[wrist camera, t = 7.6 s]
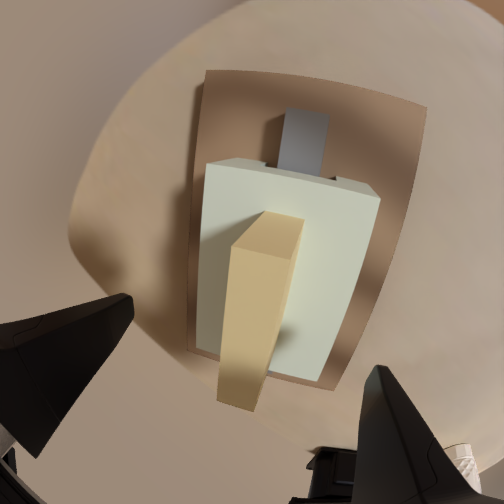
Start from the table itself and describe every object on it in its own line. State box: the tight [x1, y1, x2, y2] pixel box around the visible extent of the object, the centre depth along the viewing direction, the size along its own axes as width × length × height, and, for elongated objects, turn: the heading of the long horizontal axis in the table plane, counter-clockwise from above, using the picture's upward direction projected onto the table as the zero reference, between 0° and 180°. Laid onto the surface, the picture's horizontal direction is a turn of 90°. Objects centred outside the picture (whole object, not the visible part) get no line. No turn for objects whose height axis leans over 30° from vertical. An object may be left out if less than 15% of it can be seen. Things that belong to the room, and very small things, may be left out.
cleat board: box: [187, 70, 427, 391], centre depth 16 cm, size 20×12×3 cm, turn 172°
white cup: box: [444, 444, 482, 494], centre depth 17 cm, size 8×8×10 cm
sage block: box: [196, 158, 381, 412], centre depth 12 cm, size 10×7×8 cm
